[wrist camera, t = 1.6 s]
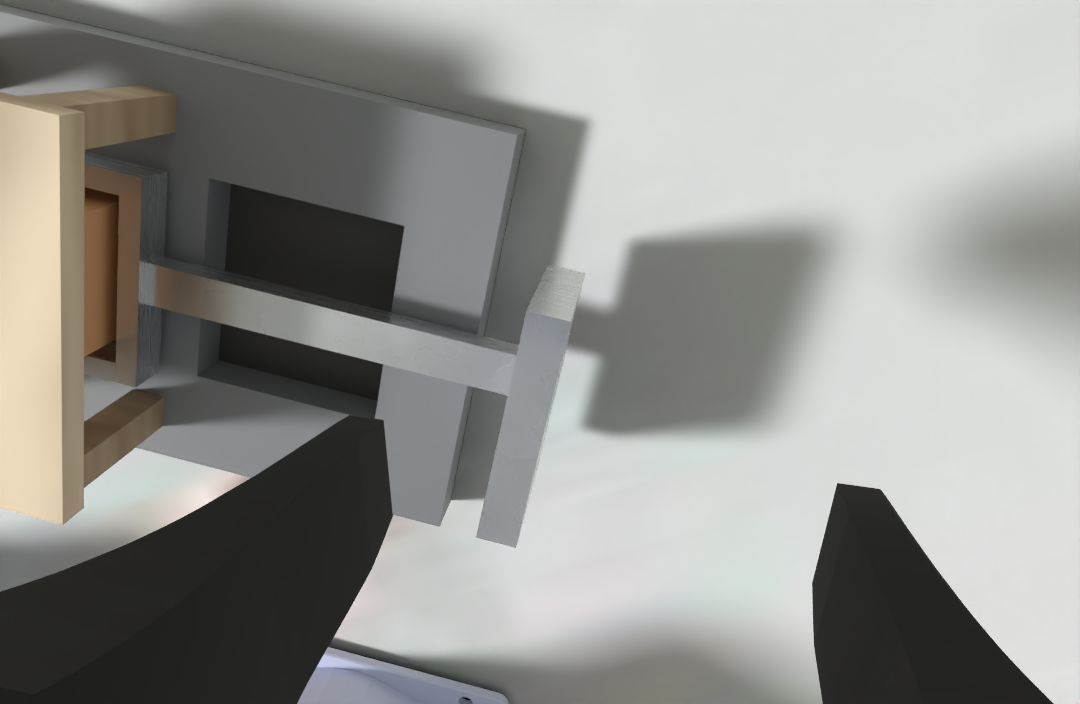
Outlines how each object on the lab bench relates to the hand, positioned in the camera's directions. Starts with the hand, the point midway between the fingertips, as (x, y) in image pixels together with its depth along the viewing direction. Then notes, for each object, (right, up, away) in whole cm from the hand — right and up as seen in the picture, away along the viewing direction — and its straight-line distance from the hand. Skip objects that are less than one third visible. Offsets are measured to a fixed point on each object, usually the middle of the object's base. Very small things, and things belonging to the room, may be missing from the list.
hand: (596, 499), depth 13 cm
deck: (-14, +6, +12) cm, 19 cm away
